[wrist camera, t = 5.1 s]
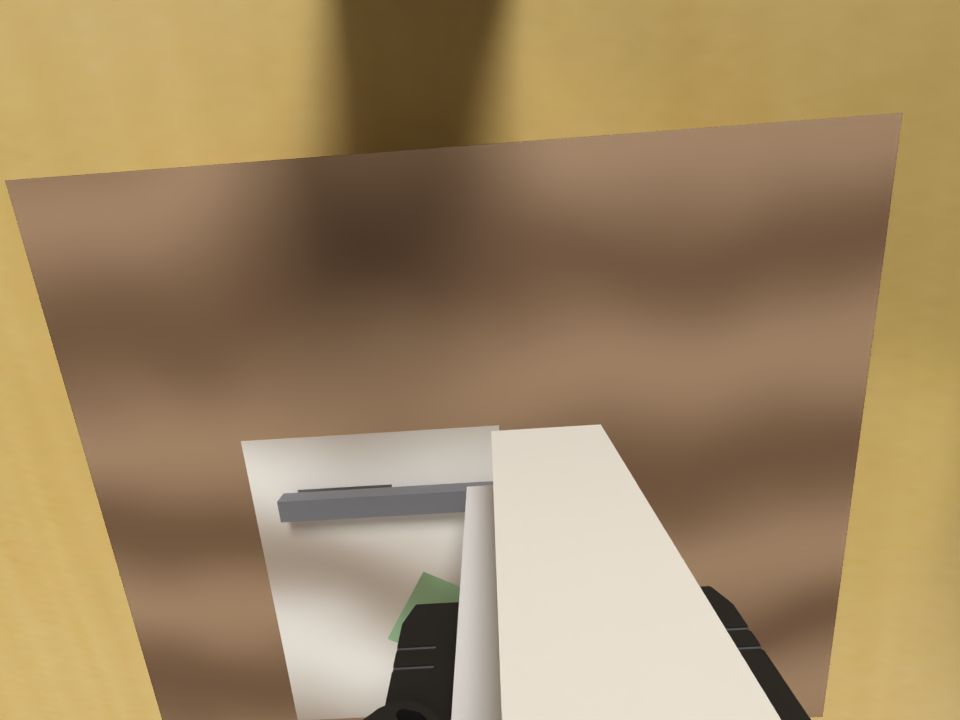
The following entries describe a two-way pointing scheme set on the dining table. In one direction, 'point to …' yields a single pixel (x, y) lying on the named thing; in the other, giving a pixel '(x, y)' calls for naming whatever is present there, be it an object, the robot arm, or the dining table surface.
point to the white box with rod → (581, 586)
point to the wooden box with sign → (459, 377)
